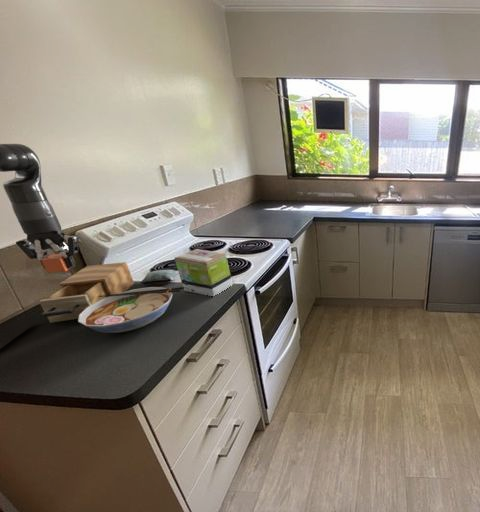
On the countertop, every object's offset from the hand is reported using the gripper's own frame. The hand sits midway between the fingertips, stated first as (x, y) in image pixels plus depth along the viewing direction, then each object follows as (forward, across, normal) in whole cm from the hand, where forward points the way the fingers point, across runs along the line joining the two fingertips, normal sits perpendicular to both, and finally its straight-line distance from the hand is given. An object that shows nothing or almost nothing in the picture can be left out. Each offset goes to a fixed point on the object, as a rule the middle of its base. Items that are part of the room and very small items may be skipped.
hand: (61, 268), depth 91 cm
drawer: (+16, 0, 0) cm, 16 cm away
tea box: (+17, -37, -7) cm, 41 cm away
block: (0, 0, 0) cm, 0 cm away
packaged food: (+17, -17, -20) cm, 31 cm away
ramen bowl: (+17, -20, +12) cm, 29 cm away
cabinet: (+17, 0, -14) cm, 22 cm away
